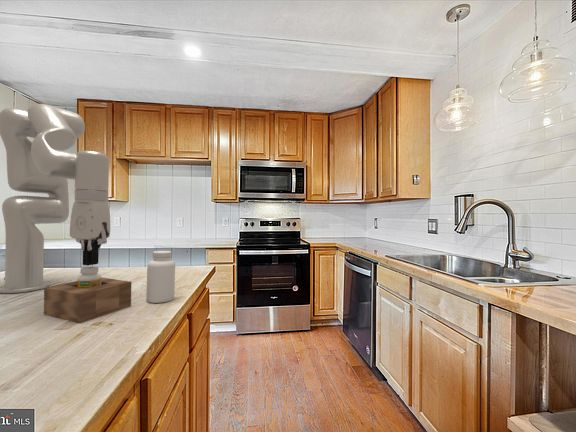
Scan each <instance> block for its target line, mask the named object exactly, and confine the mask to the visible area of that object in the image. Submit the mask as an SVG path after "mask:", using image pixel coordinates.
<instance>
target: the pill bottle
mask: <svg viewBox="0 0 576 432" xmlns="http://www.w3.org/2000/svg"><path fill="white" fill-rule="evenodd" d="M171 258H172V251H171V250H154V251H153V252H152V260H150V261H149V262H148V263H147V268H146V296H145V297H146V301H147V302H148V303H154V304H160V303H168V302H171V301H173V300H174V299H175V287H176V285H175V284H176V283H175V281H176V263H175V261H174V259H173V260H172V259H171Z"/></svg>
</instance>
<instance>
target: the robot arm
mask: <svg viewBox="0 0 576 432" xmlns="http://www.w3.org/2000/svg"><path fill="white" fill-rule="evenodd" d="M85 131H86V124H85V121H84V119H83V117H81V115H79V113H76V112H74V111H70V110H67V109H64V108H61V107H58V106H54V105H51V104H47V103H35V104H32V105H31V106H29V107H28V109H27V110H25V109H22V108H21V109H20V108H16V107H15V108H14V107H7V108H4V109H2V110H1V111H0V138H1V140H2V143H3V145H4V148H5V152H6V172H7V173H6V174H7V184H8V186H9V188H10V189H11V190H13V191H16V192H20V193H29V194H30V193H32V194H33V193H34V194H47V196H39V195H37V196H35V195H14V196H9V197H7V198H6V199H5V200H4V201H3V202H2V205H1V210H2V211H1V212H2V217H3V221H4V222H3V223H4V228H5V231H4V232H5V247H4V248H5V255H4V256H5V257H4V259H5V260H4V261H5V262H4V265H5V266H4V277H3V281H4V285H1V286H0V293H1V294H19V293H28V292H32V291H37V290H41V289H42V290H44V288H45V287H50V282H49V281H46V280H44V260H45V259H44V255H45V253H44V251H45V238H44V237H45V236H44V234H43V233H42V231H41V230H40V229H39V228H38V227H37V225H39V224H45V225H46V224H48V225H49V224H62V223H65V222H66V221H67V220H68V218H69V217H70V221H69V237H70V238H72V239H75V241H76V242H77V243H79V244H80V248H81V250H82V265H83V266H86V267H89V266H93V265H94V266H95V265H98V264H99V257H100V255H99V253H100V249H101V246H102V245H105V244H107V242H108V241H107V239H108V238H110V235H111V212H110V206H109V187H110V186H109V185H110V184H109V183H110V182H109V181H110V180H109V179H110V178H109V177H110V158H109V156H108V155H107V154H105V153H104V152H99V151H94V150H80V151H78V152H72V151H67V150H69V149H71V148H72V147H73V146H74V145H75V143H76V140H77V139H80V138H81V137H82V136H83V135H84V133H85ZM28 137H29V138H33V140H32V141H31V140H30V139H29V138H28ZM68 180H74V202H73V203H72V204H73V205H72V208H71V212H70V202H69V201H70V199H69V182H68ZM70 213H71V214H70ZM69 214H70V216H69Z"/></svg>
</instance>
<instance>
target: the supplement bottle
mask: <svg viewBox="0 0 576 432" xmlns="http://www.w3.org/2000/svg"><path fill="white" fill-rule="evenodd" d="M79 271H80V274H81V275H79V276H78V277H77V280H76V281H77V287H79V288H85V289H87V288H91V287H95V286H100V285H101V277H102V275H101V274H99V267H98V266H97V265H96V266H95V265H94V266H93V265H90V266H84V267H81V268H80V270H79Z"/></svg>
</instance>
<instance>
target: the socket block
mask: <svg viewBox="0 0 576 432" xmlns="http://www.w3.org/2000/svg"><path fill="white" fill-rule="evenodd" d="M131 306H132V281H128V280H123V279H122V280H121V279H116V278H108V277H103V276H101V285H100V286H95V287H91V288H87V289H85V288H79V287H77V280H76V281H70V282H65V283H61V284H56V285H51V286H50V285H49V286H48V287H45V288H43V315H44V316H49V317H52V318H57V319H60V320H65V321H68V322H73V323H77V324H82V323H85V322H88V321H91V320H93V319H96V318H99V317H102V316H105V315H106V316H107V315H108V314H111V313H115V312H117V311H120V310H123V309H125V308H129V307H131Z"/></svg>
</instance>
